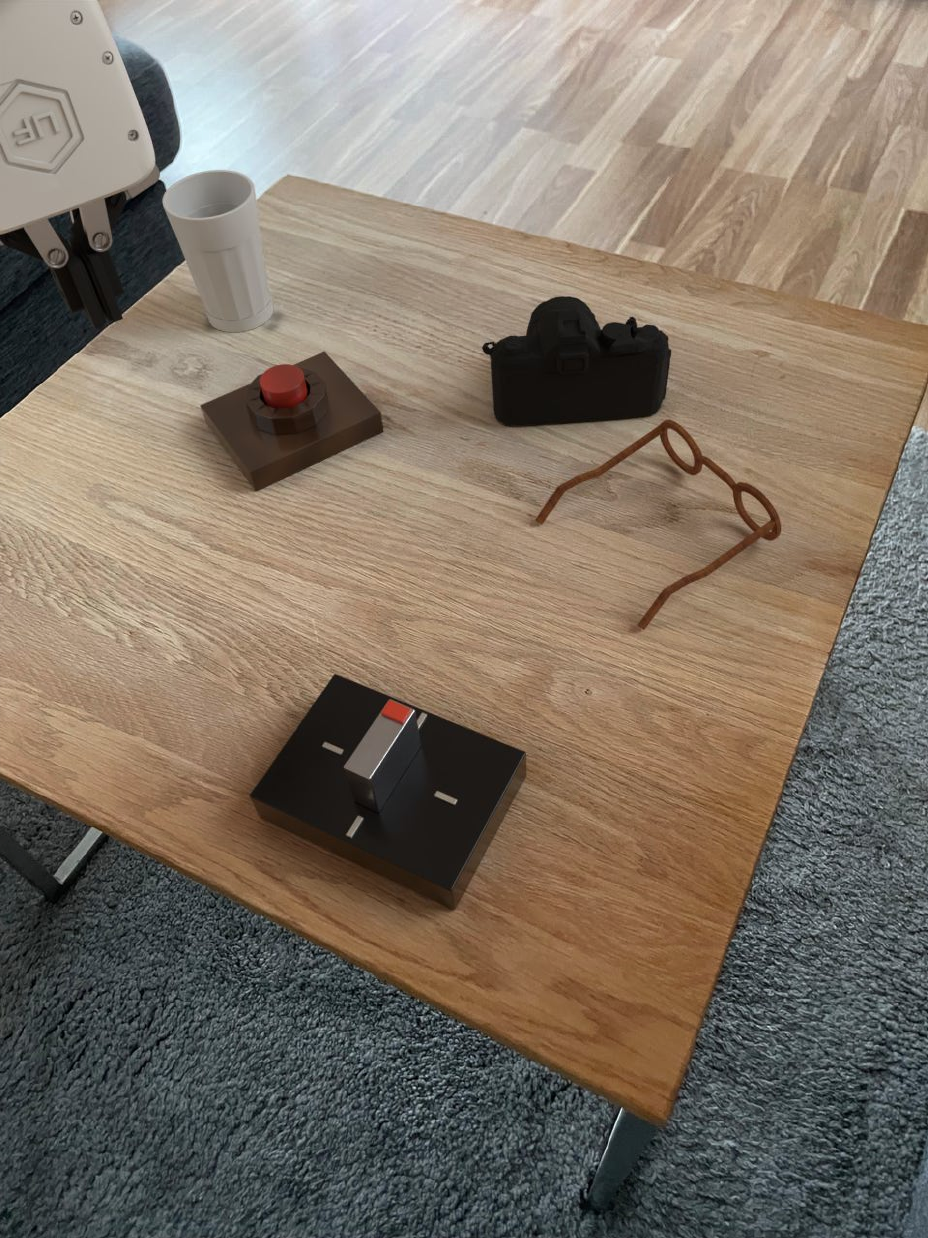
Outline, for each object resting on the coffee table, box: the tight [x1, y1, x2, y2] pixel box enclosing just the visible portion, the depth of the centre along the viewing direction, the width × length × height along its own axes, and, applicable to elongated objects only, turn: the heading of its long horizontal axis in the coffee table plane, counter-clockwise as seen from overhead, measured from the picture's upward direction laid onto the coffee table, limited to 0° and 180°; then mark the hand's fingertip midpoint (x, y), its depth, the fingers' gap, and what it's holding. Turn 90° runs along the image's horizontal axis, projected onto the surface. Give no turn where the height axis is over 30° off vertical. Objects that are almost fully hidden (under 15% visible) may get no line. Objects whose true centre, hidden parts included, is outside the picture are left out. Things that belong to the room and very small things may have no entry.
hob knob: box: [344, 699, 421, 813], centre depth 61 cm, size 5×2×4 cm, turn 152°
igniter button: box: [260, 363, 307, 409], centre depth 83 cm, size 4×4×2 cm
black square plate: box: [249, 673, 527, 911], centre depth 64 cm, size 14×10×3 cm
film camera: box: [481, 295, 672, 427], centre depth 84 cm, size 15×10×9 cm, turn 92°
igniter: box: [199, 351, 384, 492], centre depth 85 cm, size 12×10×4 cm
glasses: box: [534, 419, 782, 631], centre depth 75 cm, size 13×13×5 cm
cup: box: [162, 169, 275, 333], centre depth 93 cm, size 8×8×12 cm
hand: (100, 311), depth 56 cm, fingers closed
